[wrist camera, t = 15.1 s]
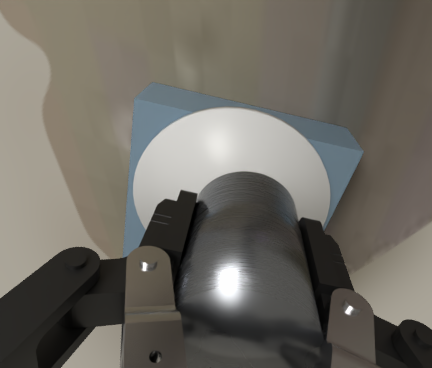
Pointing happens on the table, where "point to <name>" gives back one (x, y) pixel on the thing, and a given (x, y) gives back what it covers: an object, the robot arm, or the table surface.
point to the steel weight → (246, 279)
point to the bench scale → (230, 153)
